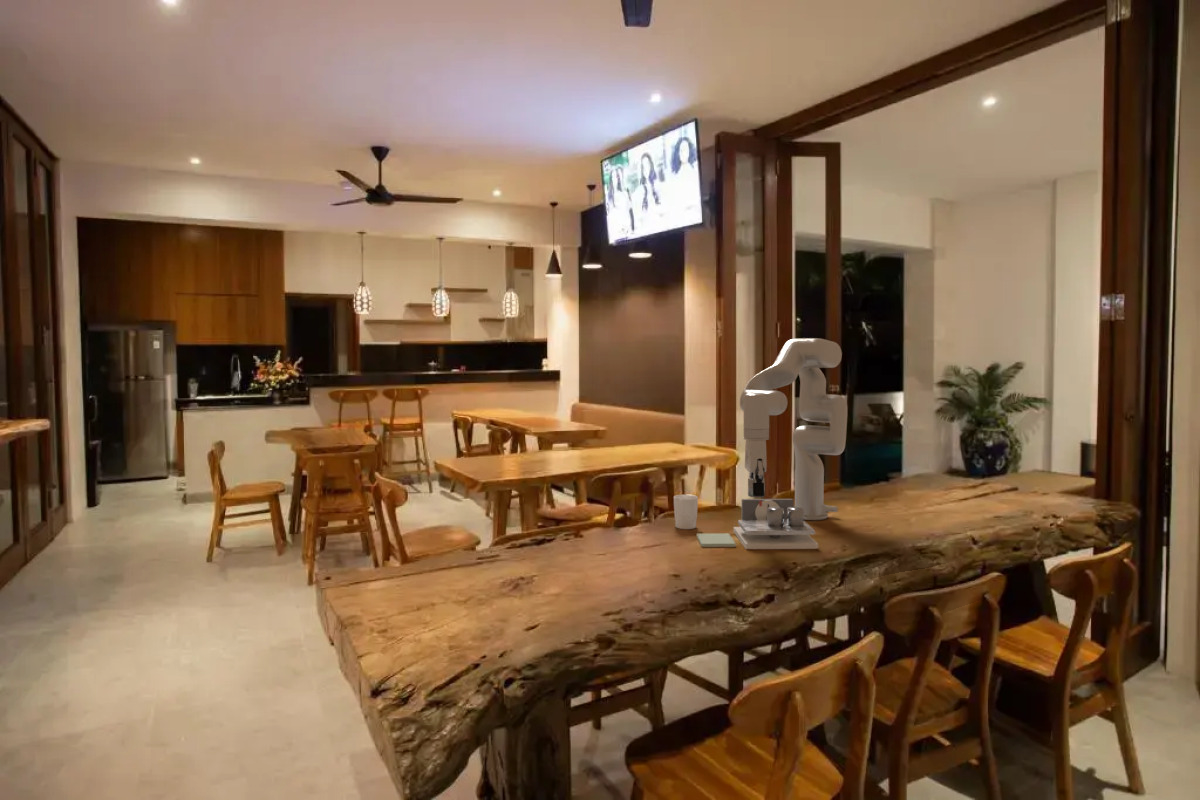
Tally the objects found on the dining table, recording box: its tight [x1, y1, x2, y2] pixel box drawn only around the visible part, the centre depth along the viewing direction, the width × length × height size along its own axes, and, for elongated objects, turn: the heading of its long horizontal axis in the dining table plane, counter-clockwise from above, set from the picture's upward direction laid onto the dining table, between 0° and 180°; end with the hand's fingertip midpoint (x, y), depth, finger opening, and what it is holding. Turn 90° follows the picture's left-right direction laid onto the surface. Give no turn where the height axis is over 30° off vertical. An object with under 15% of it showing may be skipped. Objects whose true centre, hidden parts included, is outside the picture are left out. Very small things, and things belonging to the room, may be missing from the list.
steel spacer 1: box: [767, 507, 784, 527], centre depth 226 cm, size 5×5×5 cm
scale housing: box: [732, 498, 819, 550], centre depth 229 cm, size 21×21×10 cm
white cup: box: [673, 494, 699, 530], centre depth 246 cm, size 8×8×10 cm
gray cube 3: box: [747, 478, 766, 498], centre depth 226 cm, size 5×5×5 cm
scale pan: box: [737, 519, 816, 536], centre depth 227 cm, size 20×14×1 cm
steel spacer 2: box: [787, 506, 805, 527], centre depth 226 cm, size 5×5×5 cm
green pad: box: [696, 532, 737, 548], centre depth 227 cm, size 10×12×1 cm
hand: (756, 493), depth 226 cm, fingers closed on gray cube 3, 5 cm apart
